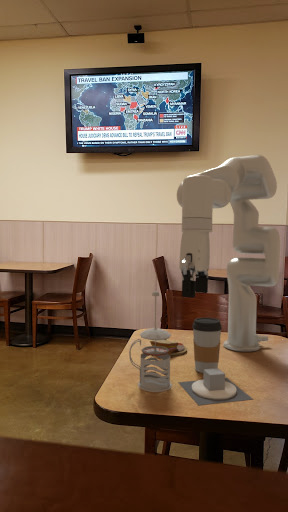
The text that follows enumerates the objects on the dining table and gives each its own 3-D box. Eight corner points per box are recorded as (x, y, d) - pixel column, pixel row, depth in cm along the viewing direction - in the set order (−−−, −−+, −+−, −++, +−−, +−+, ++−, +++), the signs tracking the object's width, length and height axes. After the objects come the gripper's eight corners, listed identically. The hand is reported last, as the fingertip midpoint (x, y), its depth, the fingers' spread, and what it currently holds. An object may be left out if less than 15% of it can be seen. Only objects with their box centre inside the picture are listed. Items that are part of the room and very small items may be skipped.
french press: (175, 394, 95) (176, 294, 93) (128, 394, 95) (128, 293, 93) (172, 379, 104) (173, 288, 103) (130, 379, 105) (130, 288, 103)
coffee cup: (220, 378, 106) (221, 324, 105) (190, 375, 108) (191, 322, 107) (221, 367, 114) (221, 317, 113) (192, 365, 116) (193, 316, 115)
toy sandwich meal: (194, 351, 130) (194, 338, 130) (167, 360, 121) (168, 346, 121) (167, 344, 139) (167, 331, 139) (140, 351, 130) (140, 338, 130)
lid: (224, 380, 103) (224, 362, 103) (244, 397, 92) (244, 377, 92) (185, 383, 100) (185, 365, 100) (201, 401, 90) (202, 381, 89)
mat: (226, 379, 105) (226, 377, 105) (253, 401, 91) (253, 399, 91) (178, 384, 101) (178, 382, 101) (198, 407, 88) (198, 405, 88)
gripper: (194, 227, 105) (192, 290, 105) (169, 224, 89) (167, 297, 90) (221, 227, 101) (219, 292, 102) (200, 224, 86) (198, 300, 86)
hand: (195, 294), depth 96 cm, fingers open, 9 cm apart
